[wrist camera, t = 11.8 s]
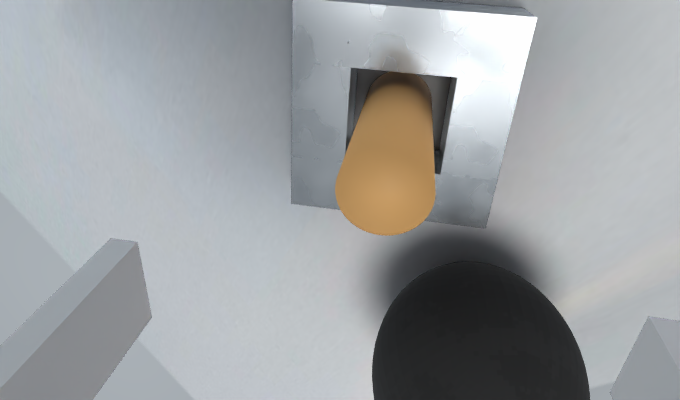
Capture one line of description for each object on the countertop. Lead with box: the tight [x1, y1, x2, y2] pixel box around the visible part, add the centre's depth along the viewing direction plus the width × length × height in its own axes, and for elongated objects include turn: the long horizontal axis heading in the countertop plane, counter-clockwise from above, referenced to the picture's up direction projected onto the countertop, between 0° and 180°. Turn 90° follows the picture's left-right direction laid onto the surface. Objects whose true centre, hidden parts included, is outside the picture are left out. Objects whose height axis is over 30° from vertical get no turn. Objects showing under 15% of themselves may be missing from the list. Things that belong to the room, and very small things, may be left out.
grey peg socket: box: [291, 0, 537, 228], centre depth 28 cm, size 12×12×4 cm
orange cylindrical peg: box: [335, 71, 436, 235], centre depth 24 cm, size 4×4×12 cm
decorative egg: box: [372, 262, 590, 400], centre depth 29 cm, size 12×12×15 cm
